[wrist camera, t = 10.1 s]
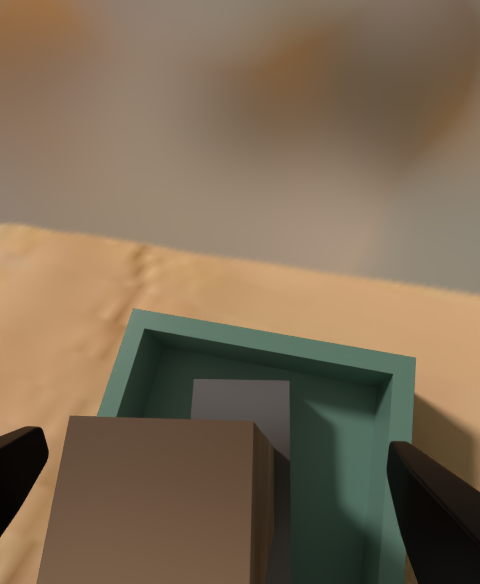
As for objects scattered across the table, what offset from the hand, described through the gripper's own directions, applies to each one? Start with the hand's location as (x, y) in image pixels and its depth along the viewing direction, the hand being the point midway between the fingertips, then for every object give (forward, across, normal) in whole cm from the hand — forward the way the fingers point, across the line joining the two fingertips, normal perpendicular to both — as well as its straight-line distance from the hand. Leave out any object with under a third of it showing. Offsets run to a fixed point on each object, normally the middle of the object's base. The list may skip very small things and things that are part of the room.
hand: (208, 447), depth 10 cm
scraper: (+5, 0, -7) cm, 8 cm away
